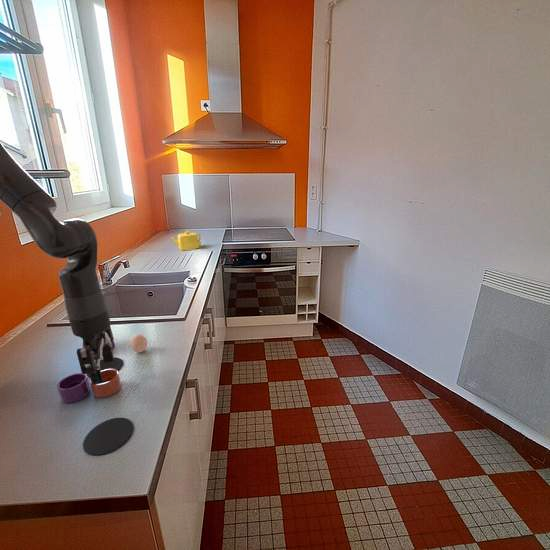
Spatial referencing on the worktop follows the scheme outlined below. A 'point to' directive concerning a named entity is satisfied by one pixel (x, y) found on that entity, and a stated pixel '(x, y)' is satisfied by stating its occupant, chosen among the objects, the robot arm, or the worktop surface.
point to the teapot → (187, 241)
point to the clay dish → (107, 383)
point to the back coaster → (110, 364)
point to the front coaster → (108, 436)
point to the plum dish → (73, 387)
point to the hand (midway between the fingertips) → (103, 371)
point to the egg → (138, 343)
